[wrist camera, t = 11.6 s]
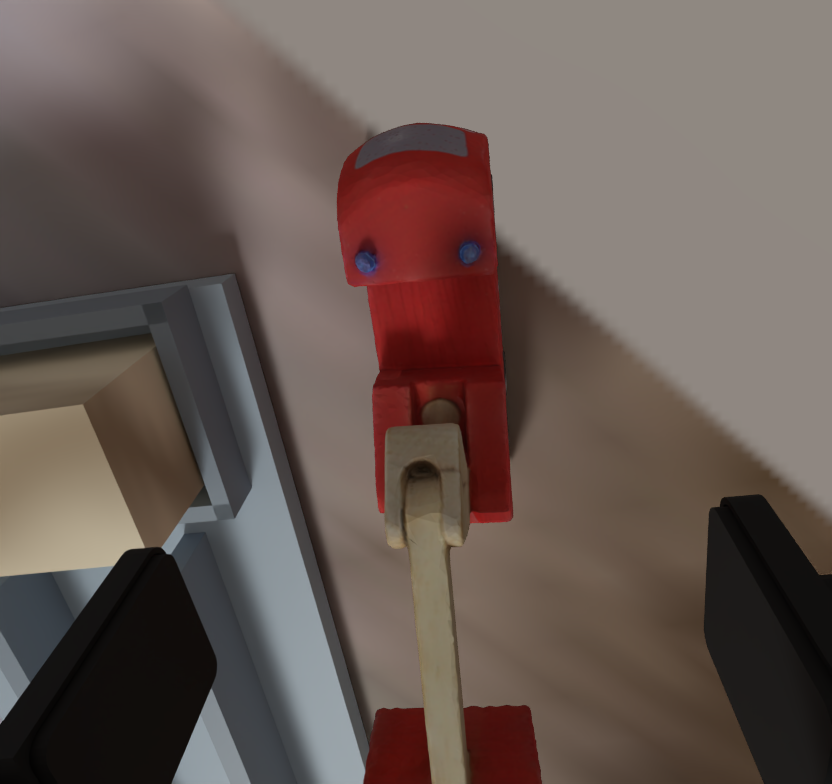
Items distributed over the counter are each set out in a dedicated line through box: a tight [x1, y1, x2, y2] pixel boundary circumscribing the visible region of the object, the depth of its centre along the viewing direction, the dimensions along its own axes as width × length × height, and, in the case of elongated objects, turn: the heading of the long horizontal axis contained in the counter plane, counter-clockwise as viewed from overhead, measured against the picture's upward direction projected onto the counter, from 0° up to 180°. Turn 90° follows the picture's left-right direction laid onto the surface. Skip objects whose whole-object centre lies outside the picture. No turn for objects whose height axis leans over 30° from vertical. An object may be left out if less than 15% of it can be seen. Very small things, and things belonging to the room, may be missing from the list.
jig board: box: [0, 273, 369, 784], centre depth 21 cm, size 23×14×4 cm, turn 9°
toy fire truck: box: [337, 123, 542, 784], centre depth 14 cm, size 3×14×10 cm, turn 7°
